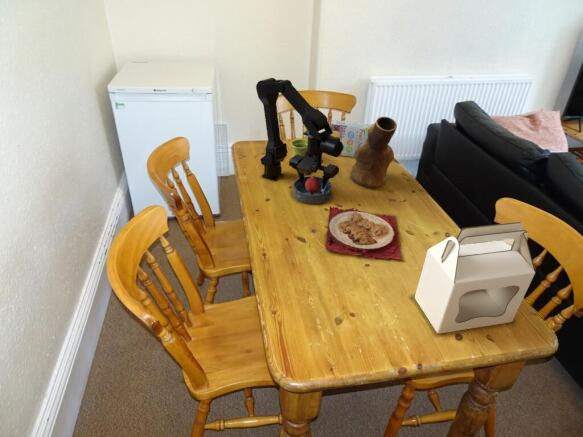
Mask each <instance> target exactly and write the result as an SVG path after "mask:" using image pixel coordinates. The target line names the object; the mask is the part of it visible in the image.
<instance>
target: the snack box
mask: <svg viewBox="0 0 583 437" xmlns="http://www.w3.org/2000/svg"><path fill="white" fill-rule="evenodd" d="M372 124H373V123H364V122H363V123H362V122H353V121H344V120H336V119H334V120H332V121H331V124H330V127H331V130H332V132H333V134H331V136H334V137H338V138H340V142H342V145H343V150H342V152H341V154H340V155H339V156H342V157H351V158H355V157H354V153H355V151H356V150H357V148H358V147H360V146H361V145H362V144H364V143H366V141H367V138H368V131H369V128H370V126H371V125H372Z"/></svg>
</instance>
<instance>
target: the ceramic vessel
mask: <svg viewBox="0 0 583 437" xmlns="http://www.w3.org/2000/svg"><path fill="white" fill-rule="evenodd" d="M371 124H372V125H371V126H370V128H369V131H368V138H367V141H366V143H364V144H362V145H361V146H360V147H358V148H357V150H356V151H355V153H354V157H353V158H354V159H355V163H354V164H353V165H352V167H351V171H350V178H351V180H352V182H353V183H354V184H357V185H358V186H361V187H364V188H369V189H376V188H380V186H382V185H384V183H385V182H386V179H387V174H388V169H389V167H390V166H391V163H392V162H393V160H394V158H395V153H394V151H393V148H392V146H390V145H389V144H390V142H391V140H392V138H393V136H394V134H395V132H396V130H397V127H398V124H397V122H396V120H395V119H393V118H392V117H388V116H380V117H377V119H376V120H375V122H374V123H371Z"/></svg>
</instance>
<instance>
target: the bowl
mask: <svg viewBox="0 0 583 437" xmlns="http://www.w3.org/2000/svg"><path fill="white" fill-rule="evenodd" d="M312 176H313V175H306V176H305V175H304V181H303V183H301V181H300V178H299V177H298V178H296V179H295V180H294V181H293V183H292V196H293V197H294V198H295V199H296V200H297V201H298V202H301V203H305V204H309V205H315V204H316V205H317V204H323V203H326V202H328V201H329V200H330V199H331V198H332V195H333V184H332V183H331V181H329V180H328V182H327V184H326V186H325V188H324V189H323V190H322V183H323V177H321V176H316V175H314V176H315V177H316V178H317V179H318V180H319V182H320V189H319V190H318V191H317V192H315V193H314V194H311V193H310V192H308V191H307V190H306V188H305V183H306V181H307V180H308V179H309V178H310V177H312Z"/></svg>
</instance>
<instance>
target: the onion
mask: <svg viewBox="0 0 583 437" xmlns="http://www.w3.org/2000/svg"><path fill="white" fill-rule="evenodd" d="M311 176H312V177H310V178H309V179H308V180H307V181H306V183H305V188H306V190H307V191H308V192H310V193H311V194H314V193H315V192H317V191H318V190H319V189H320V182H319V180H318V179H317V178H316V177H317V176H316V175H311ZM315 176H316V177H315Z"/></svg>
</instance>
